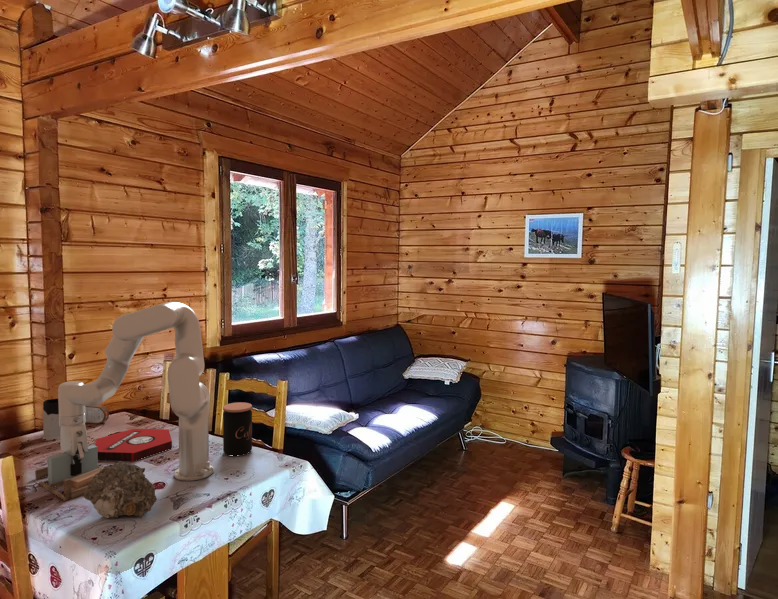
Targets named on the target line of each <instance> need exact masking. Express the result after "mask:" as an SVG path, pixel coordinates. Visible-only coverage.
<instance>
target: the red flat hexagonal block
mask: <svg viewBox="0 0 778 599" xmlns="http://www.w3.org/2000/svg"><path fill="white" fill-rule="evenodd" d="M170 433H171V432H170V430H169V429H164V428H162V429H161V428H160V429H159V428H158V429H157V428H131V429H127V430H124V431H119V432H116V433H114V434H110V435H109V434H108V435H106V436H102V437H98V438H96V439H95V444H94V445H95V446H97V447H98V461H110V462H111V461H112V462H119V461H122V462H137V461H140V460H142V459H141V458H143V459H145V458H144V457H146V458H148V457H147V456H149V457H151V456H150V455H152V456H154V455H153V454H155V455H157V454H156V453H158V454H160V453H159V452H161V453H163V452H162V451H164V452H166V451H165V450H167V451H169V450H168V449H170V450H172V449H173V440H172V436H171V434H170ZM171 448H172V449H171ZM139 459H140V460H139ZM136 460H137V461H136Z"/></svg>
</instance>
